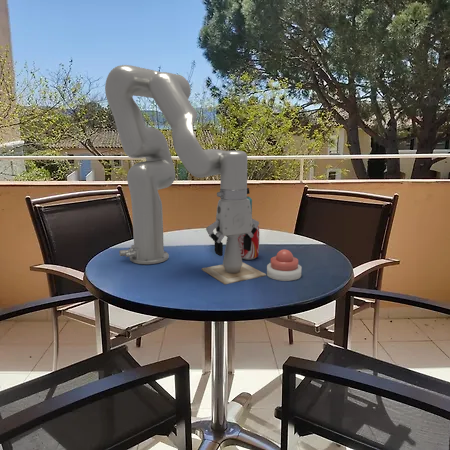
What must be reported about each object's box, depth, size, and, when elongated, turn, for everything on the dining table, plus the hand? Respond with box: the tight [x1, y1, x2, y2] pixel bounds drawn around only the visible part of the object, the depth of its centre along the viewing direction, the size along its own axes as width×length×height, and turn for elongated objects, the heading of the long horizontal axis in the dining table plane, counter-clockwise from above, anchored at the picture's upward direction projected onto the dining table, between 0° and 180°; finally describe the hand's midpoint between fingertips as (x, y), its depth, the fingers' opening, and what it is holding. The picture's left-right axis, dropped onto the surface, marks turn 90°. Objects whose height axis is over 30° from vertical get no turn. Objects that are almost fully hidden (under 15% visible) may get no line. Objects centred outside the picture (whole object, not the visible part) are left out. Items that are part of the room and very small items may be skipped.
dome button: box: [270, 249, 299, 271], centre depth 120 cm, size 8×8×5 cm
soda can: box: [238, 225, 260, 261], centre depth 135 cm, size 7×7×12 cm
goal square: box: [201, 262, 267, 285], centre depth 122 cm, size 14×14×1 cm
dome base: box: [266, 262, 303, 282], centre depth 120 cm, size 10×10×2 cm
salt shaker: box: [222, 235, 244, 273], centre depth 121 cm, size 6×6×13 cm
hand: (233, 252), depth 121 cm, fingers open, 9 cm apart
